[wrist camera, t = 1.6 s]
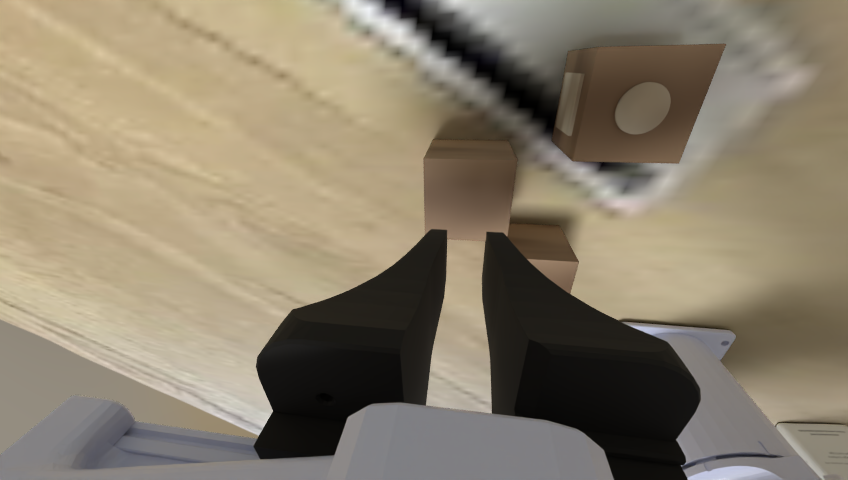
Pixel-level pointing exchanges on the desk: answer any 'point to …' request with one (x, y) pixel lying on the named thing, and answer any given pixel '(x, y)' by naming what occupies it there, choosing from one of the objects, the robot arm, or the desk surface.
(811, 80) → the desk surface
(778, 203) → the desk surface
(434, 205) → the plain block
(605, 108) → the marked block 1
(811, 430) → the ink box
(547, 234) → the marked block 2
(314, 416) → the robot arm
